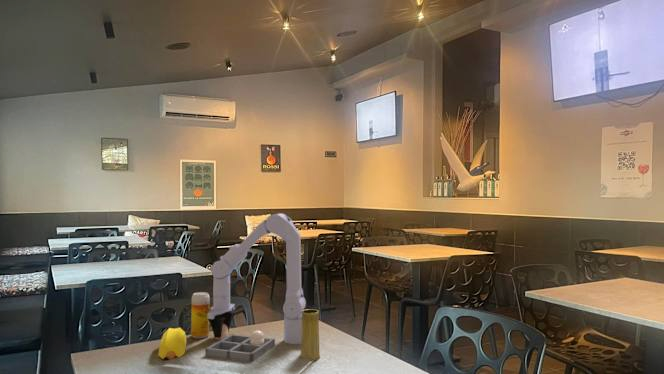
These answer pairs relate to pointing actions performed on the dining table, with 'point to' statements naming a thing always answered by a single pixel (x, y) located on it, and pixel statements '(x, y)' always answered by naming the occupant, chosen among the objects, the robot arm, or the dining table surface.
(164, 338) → the yellow banana
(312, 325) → the vase
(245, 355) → the gray compartment tray
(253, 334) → the cream egg
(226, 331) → the brown egg
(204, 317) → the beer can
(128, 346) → the dining table surface
